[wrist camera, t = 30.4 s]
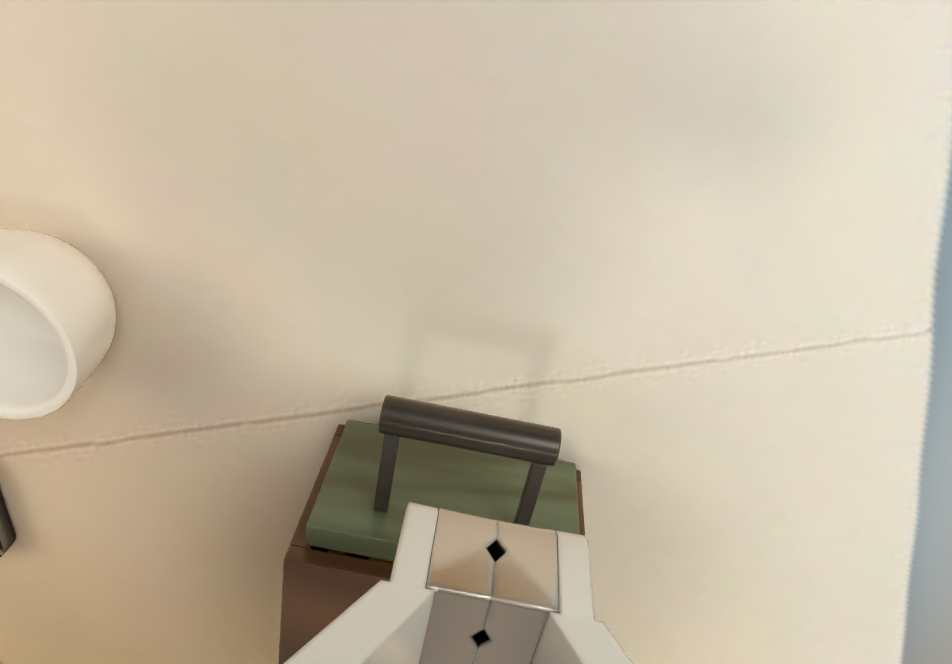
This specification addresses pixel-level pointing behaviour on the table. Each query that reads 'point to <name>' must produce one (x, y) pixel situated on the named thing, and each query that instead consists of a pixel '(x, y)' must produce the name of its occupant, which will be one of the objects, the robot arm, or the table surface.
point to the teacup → (48, 322)
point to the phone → (5, 529)
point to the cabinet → (329, 576)
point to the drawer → (439, 476)
